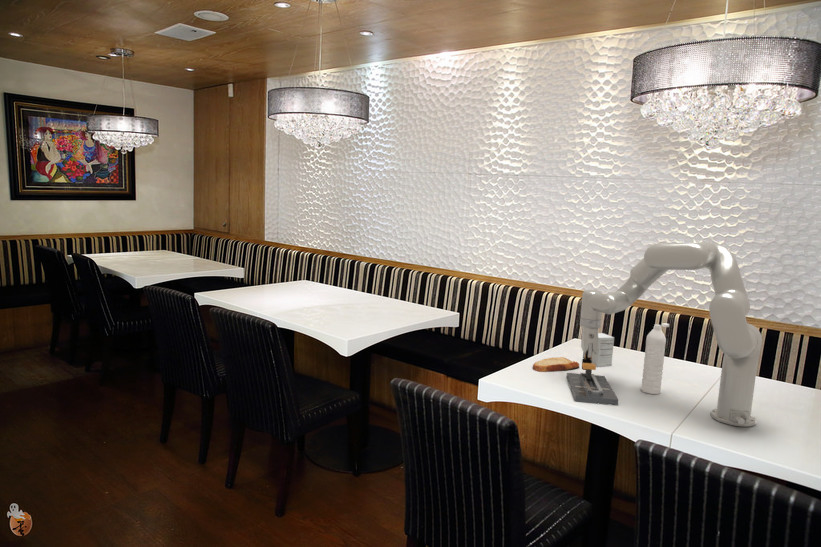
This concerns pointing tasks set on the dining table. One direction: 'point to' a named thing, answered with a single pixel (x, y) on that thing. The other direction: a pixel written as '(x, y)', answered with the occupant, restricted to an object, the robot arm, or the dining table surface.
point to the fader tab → (588, 369)
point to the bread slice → (554, 365)
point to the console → (591, 389)
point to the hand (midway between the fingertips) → (586, 369)
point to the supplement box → (603, 351)
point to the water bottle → (654, 360)
